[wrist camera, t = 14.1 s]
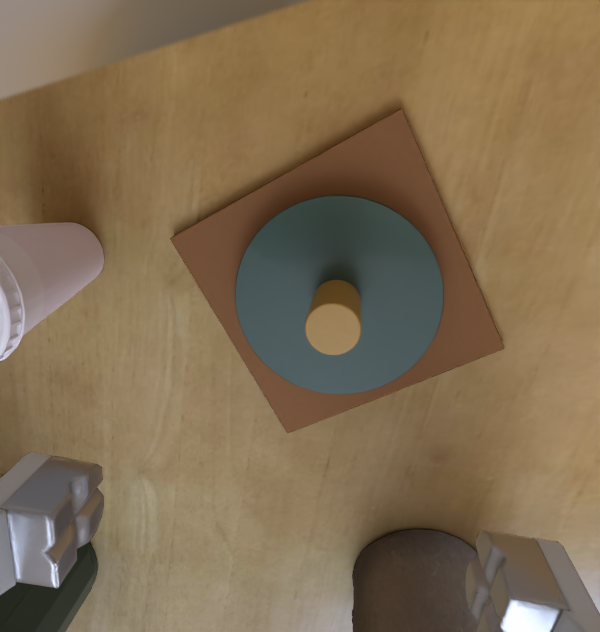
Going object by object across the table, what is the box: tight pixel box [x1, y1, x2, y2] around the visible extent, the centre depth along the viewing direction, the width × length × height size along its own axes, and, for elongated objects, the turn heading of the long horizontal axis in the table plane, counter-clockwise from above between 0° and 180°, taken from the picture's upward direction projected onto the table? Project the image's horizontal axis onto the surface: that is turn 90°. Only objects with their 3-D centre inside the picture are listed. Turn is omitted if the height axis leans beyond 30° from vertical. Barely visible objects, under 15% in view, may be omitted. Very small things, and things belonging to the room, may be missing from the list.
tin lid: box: [235, 194, 444, 394], centre depth 23 cm, size 11×11×5 cm
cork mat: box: [170, 109, 504, 433], centre depth 26 cm, size 14×14×1 cm
